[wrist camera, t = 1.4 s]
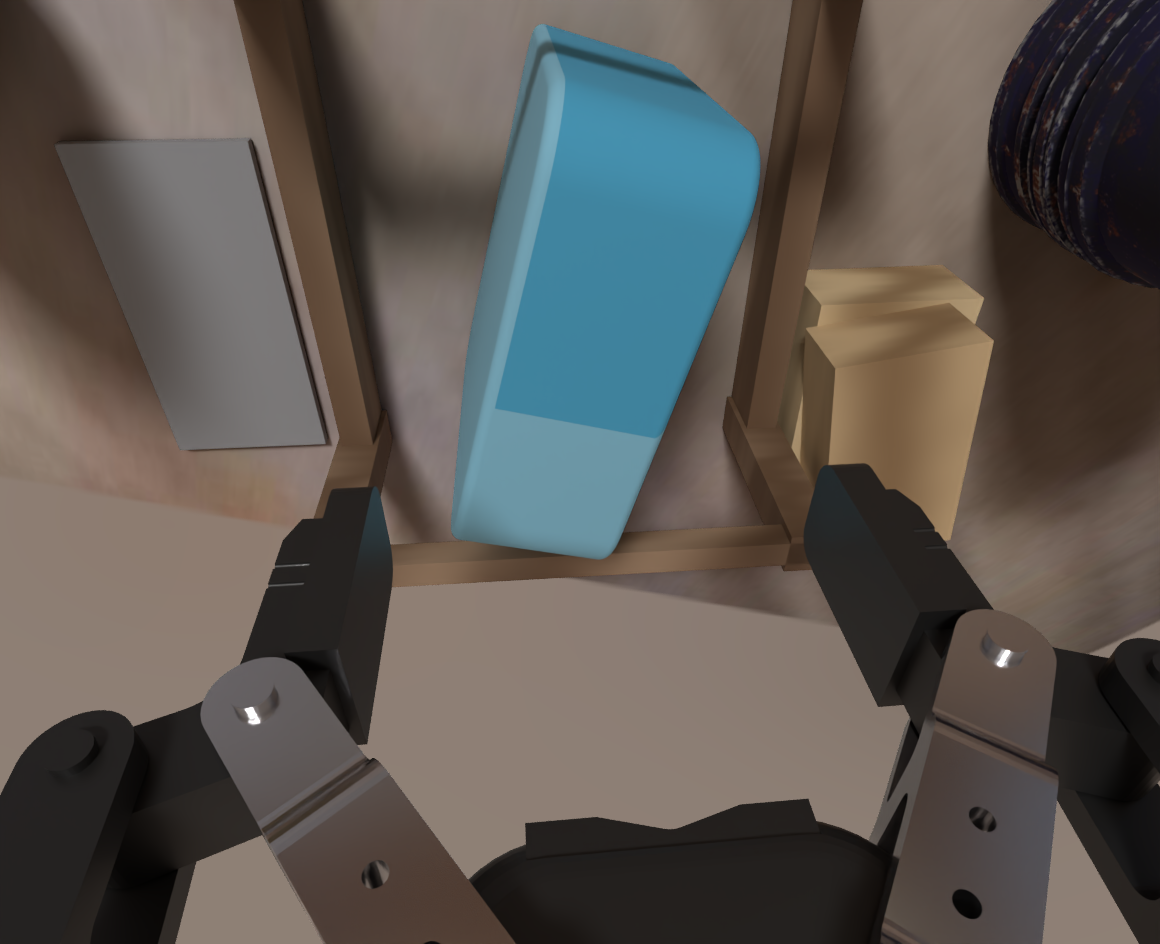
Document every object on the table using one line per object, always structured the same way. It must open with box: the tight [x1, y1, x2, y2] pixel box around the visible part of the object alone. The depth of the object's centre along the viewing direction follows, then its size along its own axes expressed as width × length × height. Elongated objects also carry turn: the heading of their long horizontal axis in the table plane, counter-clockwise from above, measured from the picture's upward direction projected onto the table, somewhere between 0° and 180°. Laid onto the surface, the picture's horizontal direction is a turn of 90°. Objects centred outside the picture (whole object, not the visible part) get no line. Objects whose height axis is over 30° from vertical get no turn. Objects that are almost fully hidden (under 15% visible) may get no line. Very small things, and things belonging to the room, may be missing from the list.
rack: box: [234, 0, 863, 587], centre depth 23 cm, size 18×19×9 cm
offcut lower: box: [777, 265, 984, 463], centre depth 30 cm, size 6×10×4 cm, turn 0°
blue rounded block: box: [451, 24, 760, 560], centre depth 21 cm, size 12×4×12 cm, turn 164°
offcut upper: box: [800, 303, 994, 541], centre depth 28 cm, size 5×9×3 cm, turn 9°
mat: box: [54, 138, 328, 450], centre depth 27 cm, size 6×12×1 cm, turn 0°
